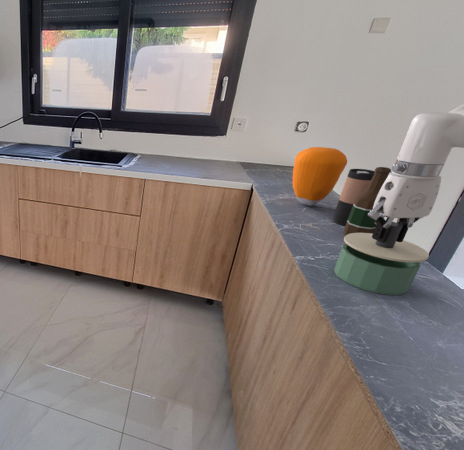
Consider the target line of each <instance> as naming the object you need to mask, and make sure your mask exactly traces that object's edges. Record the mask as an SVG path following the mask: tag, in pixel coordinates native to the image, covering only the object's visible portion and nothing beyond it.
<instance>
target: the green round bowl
mask: <svg viewBox="0 0 464 450" xmlns="http://www.w3.org/2000/svg"><path fill="white" fill-rule="evenodd" d="M420 268H421V262H399V261H393V260H387V259H383V258H379V257H375V256H372V255H368V254H365V253H363V252H360V251H358V250H356V249H354V248H352V247H350V246H349V245H347V244H346V243H344V244H343V245H342V248H341V250H340V253H339V256H338V258H337V261H336V263H335V266H334V269H333V272H334V274H335V275H336V276H337V277H338V278H339V279H340V280H342V281H344V282H345V283H347V284H349V285H351V286H353V287H355V288H358V289H361V290H364V291H367V292H371V293H375V294H381V295H386V296H400V295H405V294H406V293H407V292H408V291H409V290H410V288H411V286H412V284H413V282H414V279H415V278H416V276H417V274H418V272H419V270H420Z"/></svg>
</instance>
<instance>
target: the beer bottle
mask: <svg viewBox="0 0 464 450" xmlns="http://www.w3.org/2000/svg"><path fill="white" fill-rule="evenodd" d="M374 171H375V173H374V176H373V178H372V180H371V182H370V184H369V186H368V188H367V189H366V191H365V192H363V193H362V194H360V195H359V196H358V197H357V198H356V200H355V202H354V204H353V207H352V209H351V212H350V215H349V217H348V220H347V223H346V226H345V225H344V229H343V234H344V237H345V236H346V235H348V234H351V233H372V234H373V232H374V230H375V227H376V225H377V224H375V221H374V220H373V218H371V217H369V216H368V213H369V212H370V211H371V210H372V209H373V206H374V202H375V200H376V198H377V195H378V193H379V191H380V189H381V187H382V185H383V184H384V182H385V180H386V179H387V177H388V176H389V174H391V173H392V168H389V167H387V166H386V167H385V166H377V167H376V168H375V169H374Z"/></svg>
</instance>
